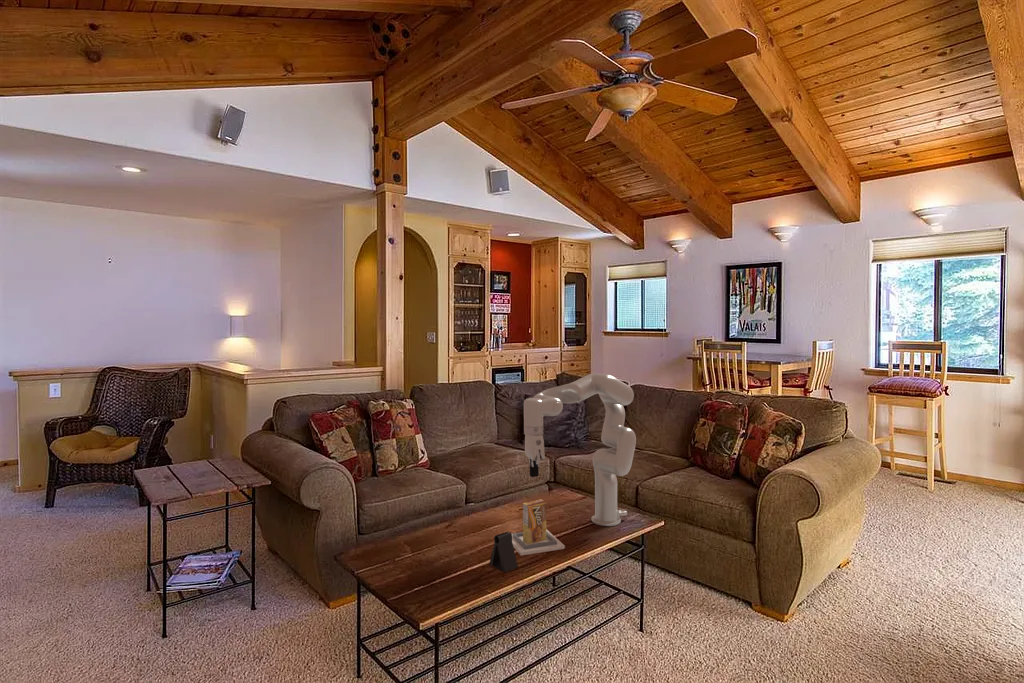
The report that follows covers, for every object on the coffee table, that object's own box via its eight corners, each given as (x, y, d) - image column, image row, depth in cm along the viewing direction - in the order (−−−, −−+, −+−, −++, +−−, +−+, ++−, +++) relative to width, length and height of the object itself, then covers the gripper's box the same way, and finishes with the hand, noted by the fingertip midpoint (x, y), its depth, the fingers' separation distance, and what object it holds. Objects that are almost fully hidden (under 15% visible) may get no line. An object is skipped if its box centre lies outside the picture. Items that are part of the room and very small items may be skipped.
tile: (546, 532, 244) (546, 526, 244) (564, 548, 227) (564, 542, 227) (505, 538, 238) (505, 532, 238) (521, 555, 221) (520, 549, 221)
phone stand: (489, 564, 214) (488, 532, 213) (502, 559, 217) (501, 528, 217) (505, 572, 207) (504, 539, 206) (517, 567, 211) (517, 535, 210)
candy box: (540, 536, 236) (540, 498, 236) (547, 539, 233) (546, 501, 232) (522, 541, 232) (522, 502, 231) (528, 544, 228) (528, 505, 227)
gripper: (550, 433, 224) (550, 480, 225) (535, 425, 238) (535, 470, 239) (531, 434, 221) (532, 482, 223) (517, 427, 235) (518, 472, 237)
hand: (534, 476), depth 231 cm, fingers closed
